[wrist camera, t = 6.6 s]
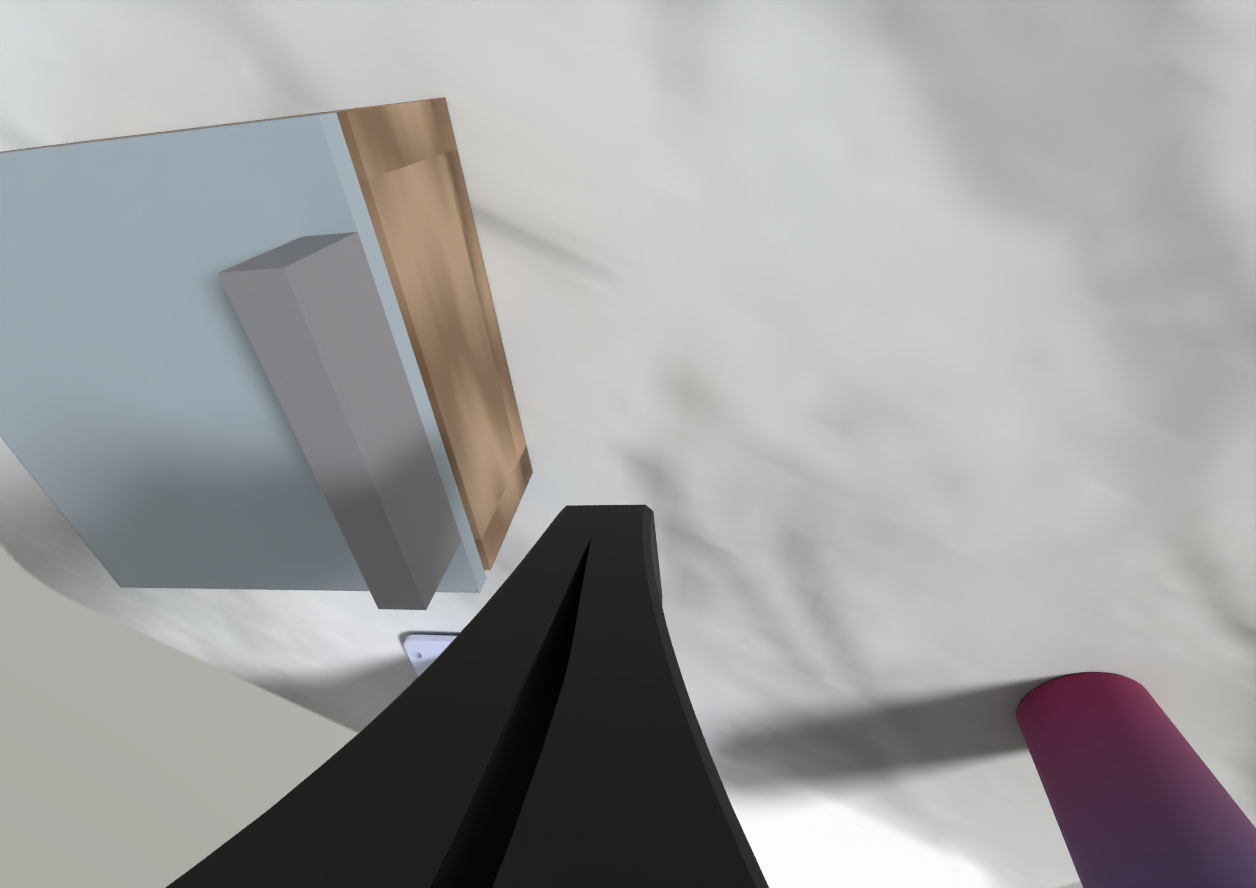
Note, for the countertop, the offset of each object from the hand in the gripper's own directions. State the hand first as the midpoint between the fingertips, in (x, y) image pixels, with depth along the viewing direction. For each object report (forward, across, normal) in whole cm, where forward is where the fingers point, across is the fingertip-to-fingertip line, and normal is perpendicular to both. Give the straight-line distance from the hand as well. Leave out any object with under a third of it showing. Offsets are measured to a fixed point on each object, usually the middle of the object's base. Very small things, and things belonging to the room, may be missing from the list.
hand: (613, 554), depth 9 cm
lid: (+5, +11, 0) cm, 12 cm away
